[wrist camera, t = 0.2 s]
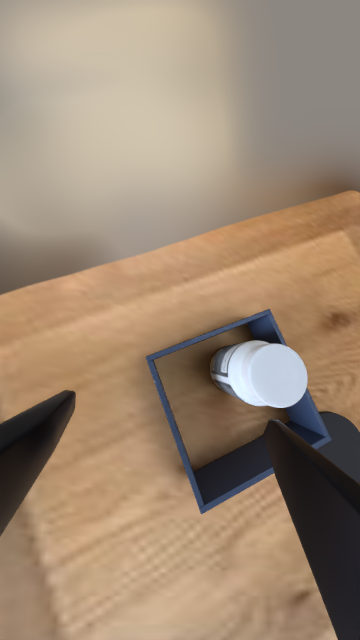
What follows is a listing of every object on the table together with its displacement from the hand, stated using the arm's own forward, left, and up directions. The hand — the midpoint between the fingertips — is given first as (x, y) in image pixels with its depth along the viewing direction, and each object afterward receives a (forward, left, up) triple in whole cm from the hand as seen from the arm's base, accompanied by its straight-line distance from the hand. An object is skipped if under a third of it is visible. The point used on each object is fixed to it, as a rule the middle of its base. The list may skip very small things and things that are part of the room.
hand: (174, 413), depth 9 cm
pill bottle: (-2, -8, -15) cm, 17 cm away
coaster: (-15, -16, -14) cm, 26 cm away
